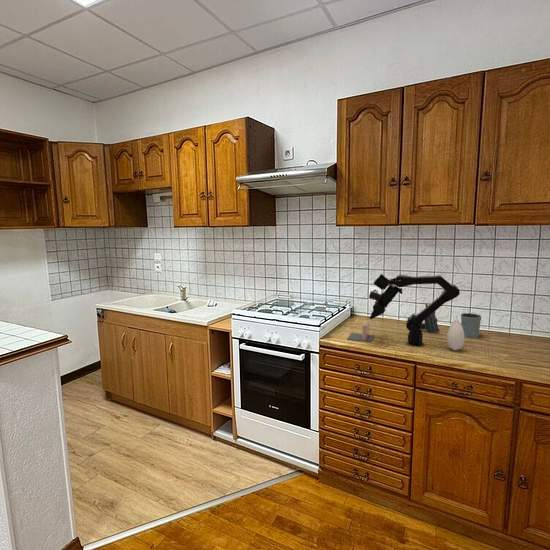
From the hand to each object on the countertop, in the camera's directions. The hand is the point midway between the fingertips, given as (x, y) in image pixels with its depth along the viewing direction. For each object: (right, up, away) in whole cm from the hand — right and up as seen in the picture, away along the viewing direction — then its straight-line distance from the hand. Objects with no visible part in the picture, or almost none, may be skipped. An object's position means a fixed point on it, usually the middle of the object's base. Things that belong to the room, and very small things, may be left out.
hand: (370, 316), depth 192 cm
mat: (-4, -13, +5) cm, 14 cm away
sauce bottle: (+38, -15, -16) cm, 44 cm away
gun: (+37, -11, +16) cm, 41 cm away
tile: (-2, -12, +4) cm, 13 cm away
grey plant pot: (+58, -12, +6) cm, 59 cm away
